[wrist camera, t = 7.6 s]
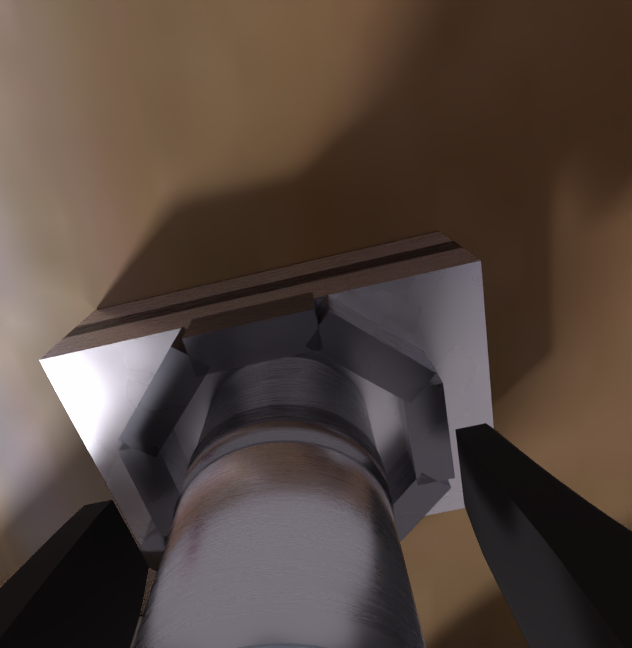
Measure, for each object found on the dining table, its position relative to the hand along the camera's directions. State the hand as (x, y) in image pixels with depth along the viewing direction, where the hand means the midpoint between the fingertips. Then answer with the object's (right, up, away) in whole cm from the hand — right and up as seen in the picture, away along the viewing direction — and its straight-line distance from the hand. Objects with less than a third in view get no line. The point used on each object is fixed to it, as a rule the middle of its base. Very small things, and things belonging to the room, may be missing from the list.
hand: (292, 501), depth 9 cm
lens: (0, +1, +2) cm, 2 cm away
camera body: (0, +2, +5) cm, 5 cm away
